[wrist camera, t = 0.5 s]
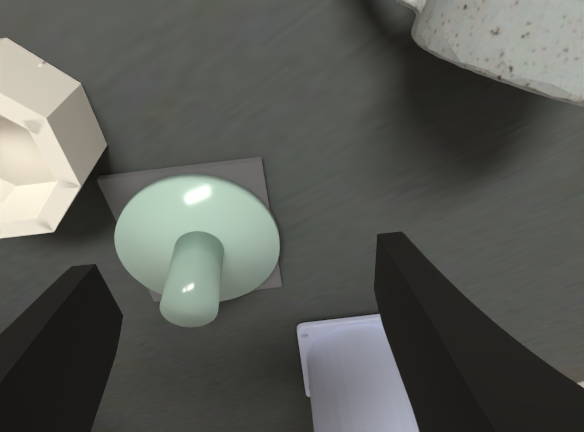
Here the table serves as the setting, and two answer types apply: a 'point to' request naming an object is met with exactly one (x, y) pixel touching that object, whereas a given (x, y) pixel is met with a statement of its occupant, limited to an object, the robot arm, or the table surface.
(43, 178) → the bowl
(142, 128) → the table surface
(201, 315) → the lid
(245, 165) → the mat
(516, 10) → the ceramic mug
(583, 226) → the table surface
